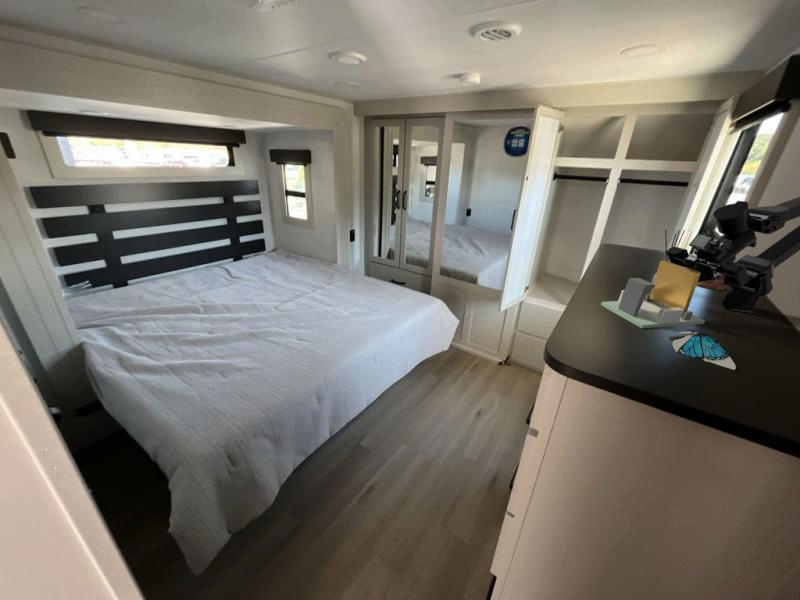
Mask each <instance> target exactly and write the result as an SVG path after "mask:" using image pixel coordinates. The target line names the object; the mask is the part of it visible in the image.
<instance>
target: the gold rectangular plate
mask: <svg viewBox="0 0 800 600" xmlns="http://www.w3.org/2000/svg"><path fill="white" fill-rule="evenodd" d="M656 273H657V274H656ZM656 273H655V274H656V278H655V281H654V284H655V287H654V288H651V293H650V294H651V295H650V298H649V301H651V302H653V303H655V304H658V305H660V306H662V307H664V308H681V309H683V310H684V312H688V311H689V307H690V304H691V301H692V299H693V297H694V294H695V290H696V288H697V286H696V285H697V282H698V279H699V276H700V272H697V271H694V270H691V269H688V268H685V267H682V266H679V265H676V264H673V263H670V261H668V262H667V261H666V260H660V261H659V264H658V267H657V272H656ZM684 312H683V314H684ZM683 314H682V316H683Z"/></svg>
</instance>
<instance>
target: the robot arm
mask: <svg viewBox="0 0 800 600" xmlns="http://www.w3.org/2000/svg"><path fill="white" fill-rule="evenodd" d="M712 216H713V218H714V221H715V224H716V228H717V230H718V233H719V234H722V235H721V236H720V237H719V238H714V237H711V236H706V235H702V234H696V235H695V237H694V238H693V239H692V240H691V241H690V243H688V246H689V247H691V248H693V249H694V250H693V254H691V253H690V254H689V252H688V249H686V248H681V247H679V246H678V247H677V246H675V247H674V246H673V247H672V246H671V247H670V248H667V251H666V250H665V255H666V254H667V260H668V259H669V260H668V262H670V263H673V264H676V265H679V266H682V267H685V268H688V269H691V270H694V271H697V272H700V276H699V279H698V282H703V281H708V280H711V281H714V280H715V277H716V276H717V275H720V276H721V275H724V283H723V284H724V285H728V288H727V290H723V291H722V294H721V295H720V297H719V299H718V300H717V303H718V304H719V306H721V307H722V306H723V307H724V308H725V309H724V308H723V307H722V308H723V309H724V310H726V309H738V310H745V311H746V310H750V311H751V310H752V311H753V309H754V307H755V305H756V304H757V301H758V300H759V298H760V296H762V297H766V296H768V295H769V294H770V293H771V291H773V289H774V287H773V283H772V282H773V281H772V279H773V278H774V274H775V270H776V269H777V267H778V266H780V265H781V264H783V263H784V262H785V261H787V260H788V259H790V258H791V257H793V256H794V255H796V254H797V253H798V252H799V251H800V224H799V225H798V226H797V227H795V228H794V229H793V230H791V231H790V232H788V233H787V234H785V235H784V236H783V237H782V238H780V239H778V240H777V241H776V242H774V243H773V244H772V245H771V246H769V247H767V248H766V249H764V251H762V252H761V253H759V254H758V255H756V256H755V255H754V256H753V255H750V254H745V255H742V256H741V258H739V259H738V260H737V257H736V256H737V255H738V254H739V253H741V252H743V251H744V250H745V249H746V248H747V247H748V248H755V247H756V246H757V238H758V237H757V236H756V233H759V234H764V235H770V234H773V233H775V232H777V231H779V230H781V229H782V228H785V224H786V223H787V222H788V221H792V220H793V219H794V220H795V219H797V218H799V217H800V196H797V197H796V198H795V197H794V198H792V199H789V200H786V201H785V202H781V203H779V204H776V205H772V206H771V205H769V206H756V207H752V208H749V203H748V201H743V200H737V201H736V202H734V203H730V204H726V205H724V206H721V207H718V208H717V209H715V210H714V212H713V215H712ZM736 260H737V261H736ZM734 261H735V262H734ZM698 282H697V283H698ZM750 313H752V312H750ZM753 313H754V314H755V311H753Z"/></svg>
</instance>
